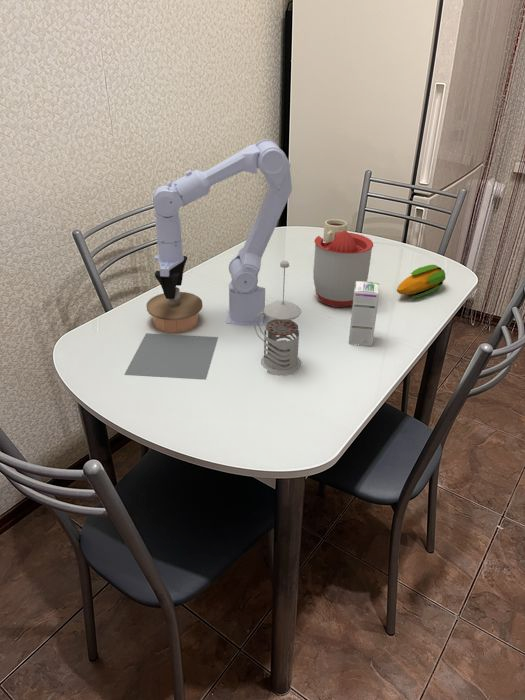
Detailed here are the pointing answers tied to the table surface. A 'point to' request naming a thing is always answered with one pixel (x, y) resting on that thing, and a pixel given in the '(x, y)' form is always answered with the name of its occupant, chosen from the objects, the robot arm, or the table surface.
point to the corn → (422, 281)
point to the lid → (174, 306)
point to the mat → (173, 356)
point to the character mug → (333, 228)
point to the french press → (281, 336)
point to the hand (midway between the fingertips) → (173, 291)
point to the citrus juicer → (340, 267)
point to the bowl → (176, 324)
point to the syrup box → (364, 313)
